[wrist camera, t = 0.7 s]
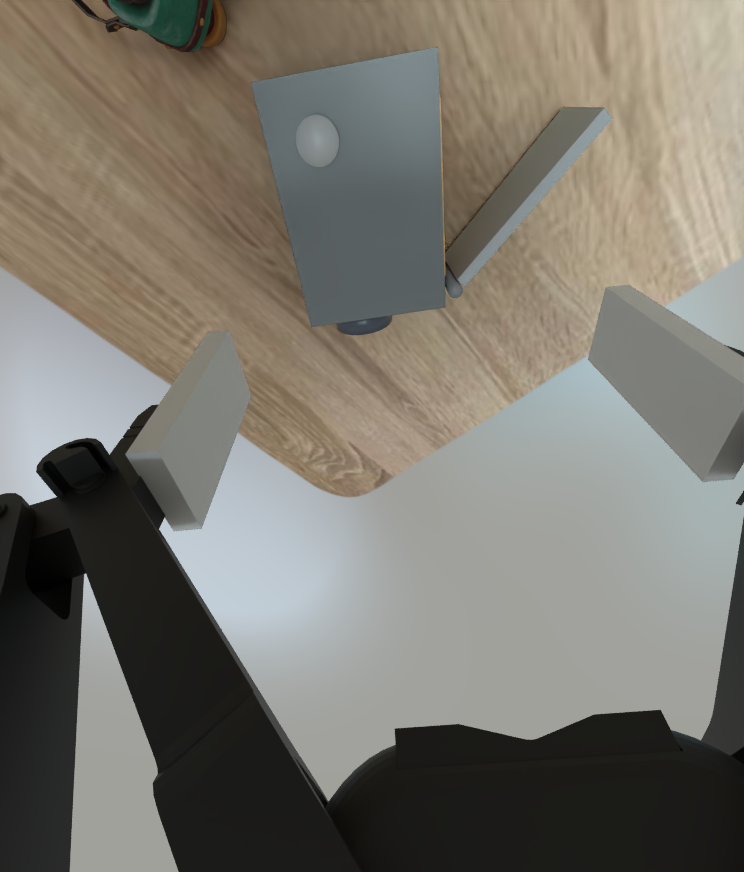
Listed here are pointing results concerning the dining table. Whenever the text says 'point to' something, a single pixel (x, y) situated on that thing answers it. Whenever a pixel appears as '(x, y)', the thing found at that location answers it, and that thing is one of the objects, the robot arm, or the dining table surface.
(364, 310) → the camera body
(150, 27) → the binoculars
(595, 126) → the side door
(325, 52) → the dining table surface
